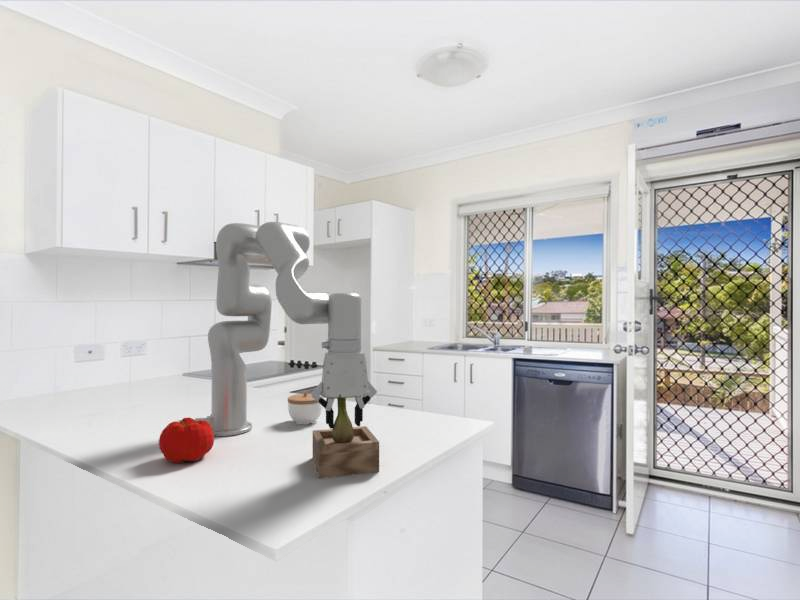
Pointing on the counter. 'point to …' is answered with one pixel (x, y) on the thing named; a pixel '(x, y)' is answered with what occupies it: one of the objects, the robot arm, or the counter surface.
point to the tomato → (186, 440)
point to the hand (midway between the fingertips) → (344, 425)
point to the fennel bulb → (342, 424)
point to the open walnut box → (345, 453)
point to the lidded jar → (304, 408)
